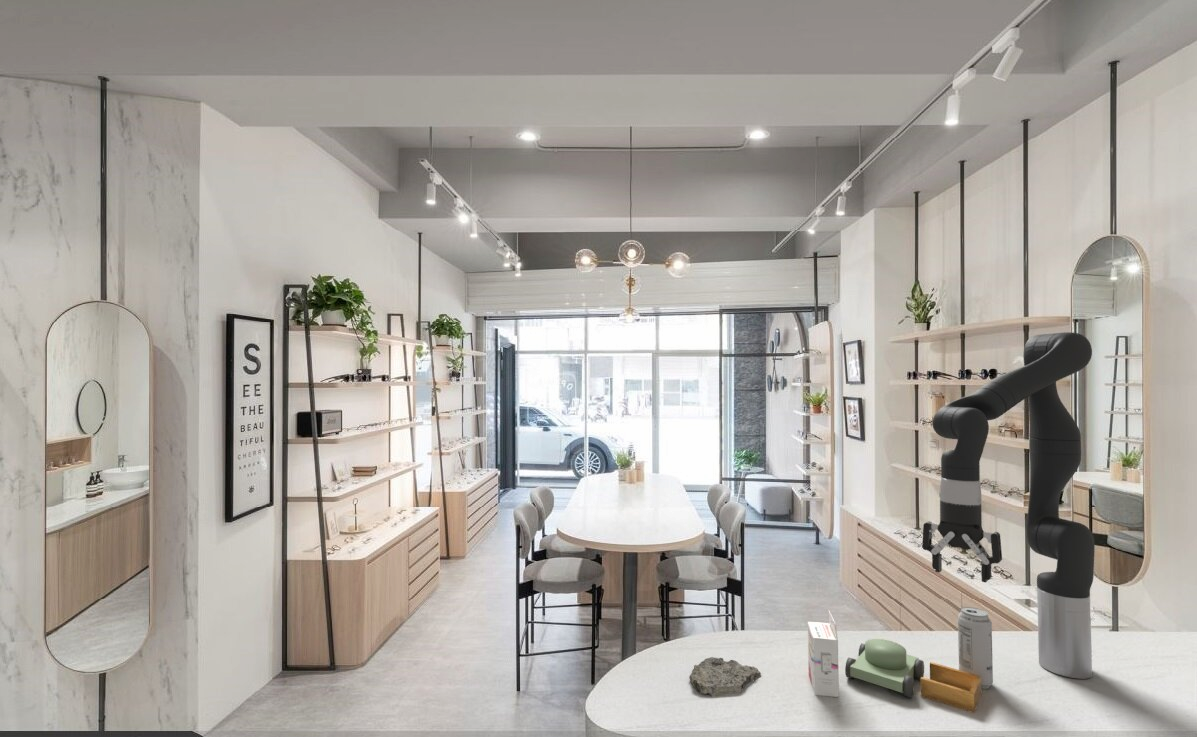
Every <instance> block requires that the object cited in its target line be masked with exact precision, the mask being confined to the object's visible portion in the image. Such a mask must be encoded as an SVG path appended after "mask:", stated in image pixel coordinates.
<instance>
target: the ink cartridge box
mask: <svg viewBox="0 0 1197 737" xmlns="http://www.w3.org/2000/svg"><path fill="white" fill-rule="evenodd" d="M828 617H829V618H828V620H829V622H821V621H820V622H818V621H807V641H808V642H807V648H808V649H807V650H808V652H807V653H808V656H807V657H808V677H809V679H810V682H811V686H812V689H813V693H814V696H822V697H823V696H824V697H832V698H833V697H835V698H840V682H839V681H840V678H839V676H840V674H839V671H840V670H839V640H838V639H839V638H838V631H837V625H836V624H837V623H836V620H834V617H833V615H832V613H831V610H830V609H828Z"/></svg>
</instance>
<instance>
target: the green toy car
mask: <svg viewBox="0 0 1197 737" xmlns="http://www.w3.org/2000/svg"><path fill="white" fill-rule="evenodd" d="M844 670H845V671H844V672H845V677H846V678H848V679H851V680H855V678H856V679H859V680H861V681H865V682H868V683H871V684H874V685H877V686H881V687H883V688H886V689H890V690H892V691H896V692H899V693H901V694H902V695H903V696H904V697H906V698H910V699H912V698H913V695H914V692H915V680H916V681H917V680H918V681H920V682H921V677H924V676H925V662H924V660H922V659H919V657H917V656H914V655H910V654H907V649H906V647H904V646H903V645H901V644H899V643H898V642H894V641H892V640H887V639H883V638H882V639H881V638H872V639H871V638H870V639H868V640H866V641H865V642H864V643H861V644H860V645H859V648H858V656H857V658H856V659H855V658H852V657H848V658H847V660H846V662H845V669H844Z"/></svg>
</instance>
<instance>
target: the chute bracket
mask: <svg viewBox="0 0 1197 737" xmlns="http://www.w3.org/2000/svg"><path fill="white" fill-rule="evenodd" d="M982 693H983V691H982V684H981V676H979V675H975V674H972V673H968V672H964V671H961V670H959V669H956V668H954V667H950V666H946V665H943V664H941V663H940V664H939V663H936V662H932V661H930V662H929V678H927V677H924V676H923V677H921V681H920V696H921V697H924V698H927V699H930V700H933V701H935V702H938V703H943V704H945V705H948V706H952V707H954V708H955V707H956V708H958V709H961V710H965V711H967V712H970V713H973V714H975V713H976V709H977V708H978V704H979V701H980V699H981V696H982V695H983V694H982ZM974 712H975V713H974Z"/></svg>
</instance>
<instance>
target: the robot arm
mask: <svg viewBox="0 0 1197 737" xmlns="http://www.w3.org/2000/svg"><path fill="white" fill-rule="evenodd" d="M1092 356H1093V349H1092V344H1091V342H1090V340H1089V339H1088V338H1087V337H1086V336H1085V335H1083V334H1081V333H1077V332H1074V331H1073V332H1070V331H1069V332H1055V333H1043V334H1037V335H1033V336H1031V337H1030V338H1029V339H1028V340H1027V341H1026V343H1025V344H1024V348H1023V356H1022V357H1023V366H1021V367H1018V368H1016V369H1013V370H1011V371H1008V372H1004V373H1003V374H1001V375H999V376H996V377H994V378H993V379H991V380H989V381H988V382H986V383H985V384H984V385H982V386H980V387H979V388H978V389H976V390H975V391H974V392H972V393H971V394H968V395H966V396H965V395H964V396H963V397H960V398H958V399H955V400H953V401H951V402H949V403H947V404H945V405H942V406H941V407H940V408H939V409H938V410H937V411H936V412H935V414H934V416H933V417H932V422H931V423H932V428H933V430H934V432H935V433H936V434H937V435H938V436H939V437H941V438H945V439H949V440H957V441H956V445H955V448H954V449H952V450H945V451H944V452H942V454H941V457H940V468H941V470H940V472H941V474H940V485H939V496H938V497H939V513H940V514H939V524H937V523H933V522H932V521H931V520H930V521H927V522H925V523H924V524H923V528H922V544H921V548H922V549H923V550H924V551H927V552H930V553H931V561H932V562H931V563H932V564H931V565H932V569H933V570H935V573H939V574H940V573H942V569H943V568H942V564H943V559H942V557H943V556H942V553H941V551H942V550H944V548H945V547H946V546H948V545H949V546H950V548H957V549H958V548H960V549H962V550H965V551H966V550H967V551H968V550H971V551H972V552H973V553H974V554H975V555H976V556H977V557H978V558H979V560H980V561H981V562H982V563H981V564H980V565H981V567H980V568H981V582H982V583H987V582H988V581H990V580H991V578H992V565H993V564H999V563H1000V562H1001V561H1002V560H1003V553H1002V542H1001V539H1002V538H1001V534H1000V532H999V531H995V532H989V531H988V532H987V531H984V530H983V527H982V525H983V524H982V522H983V521H982V520H983V518H982V487H981V481H980V480H981V479H980V478H981V476H980V475H981V474H980V473H981V470H980V467H981V466H980V462H981V458H982V455H983V453H984V448H985V444H986V441H987V438H988V435H989V429H990V426H989V421H993V420H996V419H998V418H1000V417H1001V416H1002V415H1004V414H1006V412H1009V411H1010V410H1011V409H1013V408H1014V407H1015V406H1016V405H1018V404H1020V403H1021V402H1022V401H1024V400H1025V399H1027V398H1028V414H1029V415H1028V416H1029V434H1028V437H1029V438H1028V441H1029V442H1028V444H1029V446H1028V447H1029V448H1028V449H1029V463H1030V464H1029V469H1030V470H1029V471H1030V472H1029V475H1030V476H1029V495H1028V496H1029V497H1028V508H1027V516H1026V517H1027V518H1026V527H1025V528H1026V531H1025V533H1026V540H1027V544H1028V545H1029V547H1030V549H1031V550H1032V551H1033V552H1034V553H1036V554H1038V555H1041V556H1044V557H1046V558H1050V559H1052V560H1057V561H1056V569H1055V571H1044V572H1040V573H1038V574H1037V576H1036V597H1037V598H1036V599H1037V600H1036V601H1037V602H1036V603H1037V631H1038V632H1037V635H1038V636H1037V637H1038V638H1037V640H1038V644H1037V646H1038V648H1037V649H1038V664H1039V666H1041V667H1042V668H1043V669H1045V670H1047V671H1049V672H1052V673H1054V674H1056V675H1059V676H1062V677H1066V678H1072V679H1081V680H1082V679H1083V680H1086V679H1090V678H1092V677H1093V660H1092V657H1093V655H1092V652H1093V650H1092V626H1091V625H1092V619H1091V617H1092V616H1091V589H1092V584H1093V582H1094V578H1095V577H1094V576H1095V575H1094V574H1095V573H1094V570H1095V548H1096V547H1095V539H1094V536H1093V533H1092V531H1091V529H1090V528H1089V527H1088V526H1087V525H1085V524H1083V523H1080V522H1078V521H1077V522H1076V521H1073V520H1068V519H1064V518H1060V515H1059V512H1060V511H1059V510H1060V508H1059V507H1060V506H1059V505H1060V498H1061V495H1062V492H1063V490H1064V489H1065V488H1066V485H1067V484H1068V483H1069V481H1070V480H1071V479H1072V478H1073V476H1074V475H1075V473H1076V471H1077V470H1078V469H1079V466H1080V464H1081V461H1082V438H1081V437H1082V436H1081V435H1082V434H1081V431H1080V428H1079V427H1078V424H1077V422H1076V421H1075V420H1074V417H1073V416H1072V415H1071V414H1070V412H1069V411H1068V410H1067V408H1066V407H1065V405H1064V404H1063V402H1062V401H1061V398H1060V396H1059V393H1058V390H1057V389H1058V387H1057V382H1059V381H1060V380H1062V379H1064V378H1066V377H1070V376H1071V375H1074V374H1075V373H1078V372H1080V371H1081V370H1084V368H1086V367H1087V365H1089V363H1090V361H1091V360H1092ZM936 530H938V533H939V534H940V535H941V537H942V539H940V540H939V541H938V543H937V544H936V545H935V546H934V545H933V544H932V542H933V534H934V533H935V532H936ZM984 538H985V539H986V540H987V543H989V544H991V554H992V555H991V556H990V555H989V553H988V552H987V551H986V549H985V547H984V546H983V545H982V543H981V541H982V540H983V539H984Z"/></svg>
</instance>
